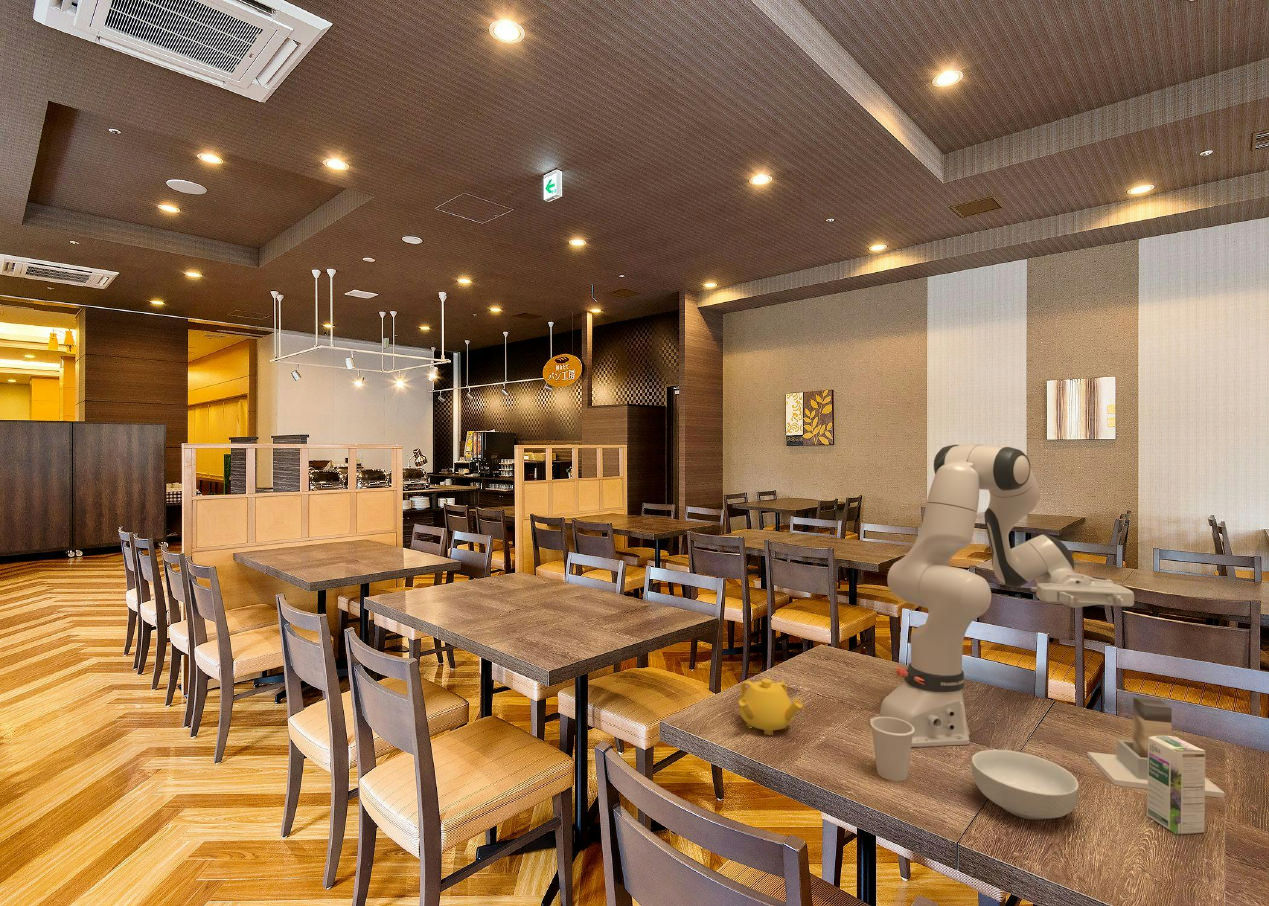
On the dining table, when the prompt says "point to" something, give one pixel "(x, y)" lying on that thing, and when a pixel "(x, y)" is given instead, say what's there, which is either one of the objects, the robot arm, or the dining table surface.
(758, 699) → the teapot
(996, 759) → the cereal bowl
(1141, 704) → the tool handle
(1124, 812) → the dining table surface
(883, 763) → the dixie cup
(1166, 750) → the syrup box
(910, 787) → the dining table surface
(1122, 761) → the caddy
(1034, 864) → the dining table surface
